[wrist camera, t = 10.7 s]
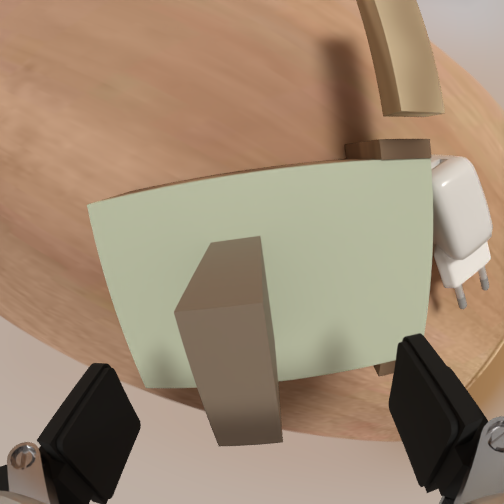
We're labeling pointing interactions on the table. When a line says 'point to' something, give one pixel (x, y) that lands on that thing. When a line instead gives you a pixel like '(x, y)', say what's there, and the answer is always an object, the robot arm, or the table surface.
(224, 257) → the lid
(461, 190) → the power adapter
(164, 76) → the table surface
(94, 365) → the robot arm
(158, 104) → the table surface
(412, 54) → the tan rectangular block
